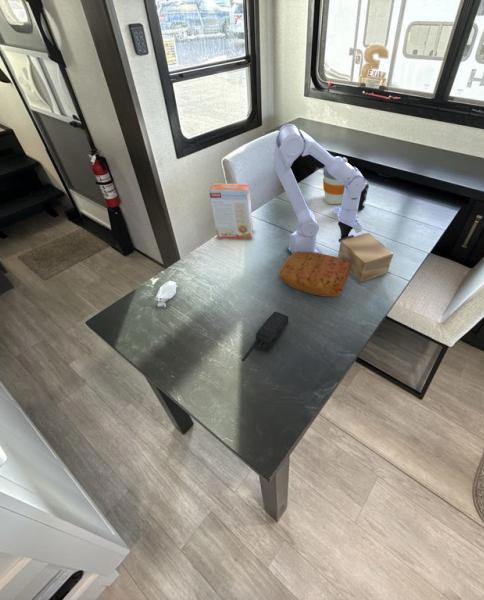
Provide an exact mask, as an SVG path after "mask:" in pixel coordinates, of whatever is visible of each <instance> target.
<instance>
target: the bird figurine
mask: <svg viewBox="0 0 484 600" xmlns="http://www.w3.org/2000/svg"><path fill="white" fill-rule="evenodd" d="M179 287H180V285H177V282H176V281H174V280H168V281H166V282H164V283H163V284H162V285H161V286H160V287H159V289H158V291H157V293H156V296H155V297H154V300H155V302H158V303H157V308H160V307H165V308H167V304H166V302H168V301H169V300H170V299H172V298H173V297H174V296H175V295H176V294H177V289H178V288H179Z"/></svg>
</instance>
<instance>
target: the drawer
mask: <svg viewBox="0 0 484 600" xmlns="http://www.w3.org/2000/svg"><path fill="white" fill-rule="evenodd" d="M362 234H365V232H364V233H361V234H358V235H354V234H349V235H348V236H347V237H344V238H341V237H340V238H338V243H339V247H338V248H339V249H338V253H337V254H338V257H339V253H340V246H341V241H343V240H346V239H349V238H352V237H356V236H359V235H362Z"/></svg>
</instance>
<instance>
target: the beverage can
mask: <svg viewBox="0 0 484 600" xmlns="http://www.w3.org/2000/svg"><path fill="white" fill-rule="evenodd" d="M365 184H366V186H365V188H364V189H363V190H362V192H361V196H360V201H359V206H358V211H362V210H363V209H365V206H366V202H367V196H368V192H369V188H370V187H369V186H370V185H369V181H368V180H367V179H365ZM358 211H357V212H358Z"/></svg>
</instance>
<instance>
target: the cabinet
mask: <svg viewBox="0 0 484 600" xmlns="http://www.w3.org/2000/svg"><path fill="white" fill-rule="evenodd" d="M364 233H365V232H364ZM364 233H361V234H362V235H361V234H358V235H359V236H358V235H355V236H356V237H352V238H349V239H346V240H343V241H341V246H340V245H339V248H340V253H339V252H338V254H339V256H338V258H342V259H344V260H346V261H348V262H350V263H351V267H350V271H349V274H351V275H352V276H353V277H354V279H356V280H357V281H358V282H359V283H362V282H365V281H368V280H371V279H373V278H377V277H380V276H382V275H384V274H388V272H389V269H390V266H391V263H392V259H393V257H394V252H393V251H391V250H390V249H389V248H388V247H387V246H385V244H383V243H382V242H381V241H379V240H378V239H377V238H376V237H375V236H374V235H373V234H372V233H370V232H366V233H365V234H364Z"/></svg>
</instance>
